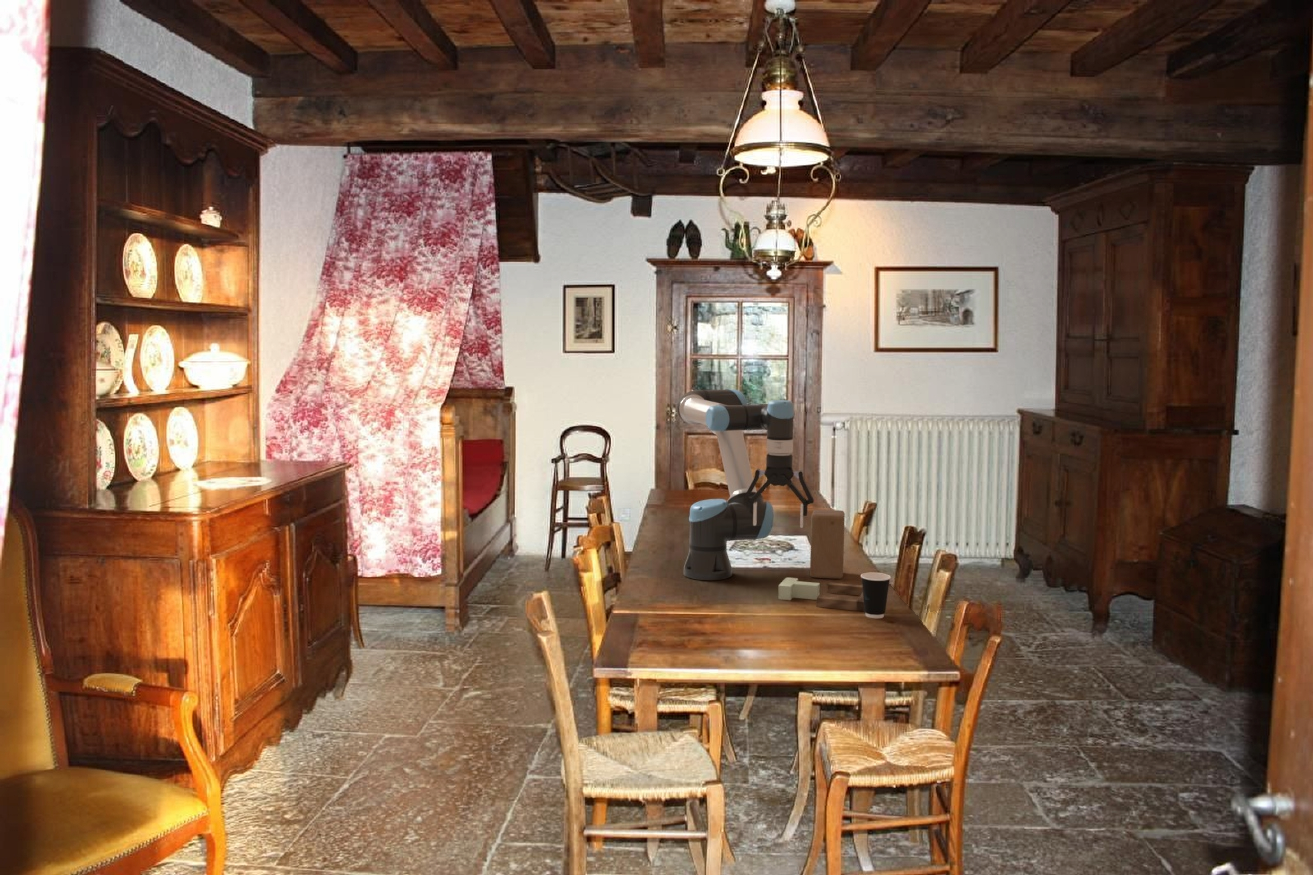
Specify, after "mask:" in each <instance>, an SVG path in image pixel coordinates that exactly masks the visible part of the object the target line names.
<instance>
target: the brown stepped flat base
mask: <svg viewBox="0 0 1313 875" xmlns="http://www.w3.org/2000/svg"><path fill="white" fill-rule="evenodd" d="M826 588H827V589H826V593H827V594H839V595H850V596H858V598H857V599H854V598H853V599H852V598H843V597H833V596H832V597H831V596H822V595H821V596H820V595H819V596H818V597H817V600H816V607H818V608H830V609H835V610H836V609H837V610H848V611H859V612H865V611H864V600H863V588H862V584H860V585H858V584H847V583H836V582H828V583H827V584H826Z"/></svg>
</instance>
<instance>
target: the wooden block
mask: <svg viewBox="0 0 1313 875" xmlns="http://www.w3.org/2000/svg"><path fill="white" fill-rule="evenodd" d="M810 518H811V520H810V553H809V554H810V561H809V575H810V577H811V578H814V579H817V578H818V579H835V580H836V579H837V580H839V579H840V580H841V579H842V578H843V576H844V560H845V559H844V557H845V556H844V554H845V551H844V550H845V518H846V516H845V511H844V510H835V509H813V510H812V513H811V517H810Z"/></svg>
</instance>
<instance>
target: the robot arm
mask: <svg viewBox="0 0 1313 875" xmlns="http://www.w3.org/2000/svg"><path fill="white" fill-rule="evenodd" d="M747 401H748V400H747V399H746V397H745V395H744V394H743V392H742V391H740V390H738V389H731V388H724V389H694V390H690V391H688V392H686V393H684V394H683V395H682V396H681V397H680V398H679V399H678V400H677V403H676V405H675V408H676V410H675V412H676V414H677V416H678V418H679V420H681V421H682V422H684V423H686V424H690V425H699V426H700V425H704V426H706V427H707V429H708V430H709V431H710V432H711V433H713V434H714V435H716V439H717V444H718V448H719V453H720V457H721V460H722V466H723V470H724V475H725V479H726V485H727V488H728V494H729V498H728V499H727V500H726V499H724V498H709V499H704V500H703V499H702V500H699V501H697V502H694V503H693V504H691V506H690V509H689V517H688V521H689V542H688V543H689V546H688V547H689V549H688V550H689V551H688V554H687V556H686V560H685V563H684V566H683V576H684V577H687V578H688V579H693V580H699V581H719V580H725V579H728V578H731V577H732V576H733V567H732V564H731V561H730V558H729V554H728V550H727V547H728V546H727V543H728V541H731V542H733V541H749V540H750V541H751V540H752V541H757V540H759V539H760V540H761V539H766V538H768V537H769V535H770V533H772V530H773V527H774V516H775V515H774V508H773V505H772V503H771V502H770V501H766V500H765V501H764V498H763V492H764V491H765V490H766V489H767V488H768V487H769V486H770V485H772V486H774V487H775V486H776V487H777V486H779V487H780V486H781V487H785V486H787V487H788V488H789V489H791V491H792V492H793V494H794V495H795V497H797V498H798V500H799V501H800V502H801V503H800V510H799V511H800V512H799V514H800V516H799V517H800V519H799V528H801V529H802V528H803V527H804V517H806V516H807V515H808V505H810V504H813V503H814V501H815V498H814V496H813V495H812V493H811V490H810V488H809V486H808V484H807V481H806V480H805V477H804V471H803V470H799V471H794V470H793V459H794V458H793V454H792V453H793V452H794V417H795V412H794V411H795V410H794V403H793V402H792V401H791V400H785V399H771V400H769V401H768V403H758V404H748V402H747ZM743 431H766V452H767V454H766V467H765V468H766V469H765V470H761V469H759V468H756V469H755V471H754V475H753V470H752V467H751V463H750V459H749V454H748V450H747V445H746V441H745V438H744V433H743ZM763 475H764V476H765V477H766V481H765V482H764V483H763V485H762V486H761V487H759V489H758V490H757V488H756V484H757V483H758V480H760V478H762V477H763ZM793 477H795V478H796V479H798V480H799V483H800V485H801V487H802V489H803V491H804V494H805V496H806V497H805V496H804V494H802V492H801V491H800V490H799V488H798V487H797V486H796V485H795V483H794V482H793V481H792V479H793Z"/></svg>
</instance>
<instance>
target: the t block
mask: <svg viewBox="0 0 1313 875" xmlns="http://www.w3.org/2000/svg"><path fill="white" fill-rule="evenodd" d="M820 584H821V583H820V582H812V581H811V582H809V581H799V578H797V577H785V578H784V579H783V580H782V582H780V583H779V584H778V597H777V598H778V599H777V600H782V601H783V600H784V601H791V600H792V599H803V600H804V599H806V600H813V601H814V600H816V601H817V597H818V596H820V591H821V589H820V588H821V587H820Z"/></svg>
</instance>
